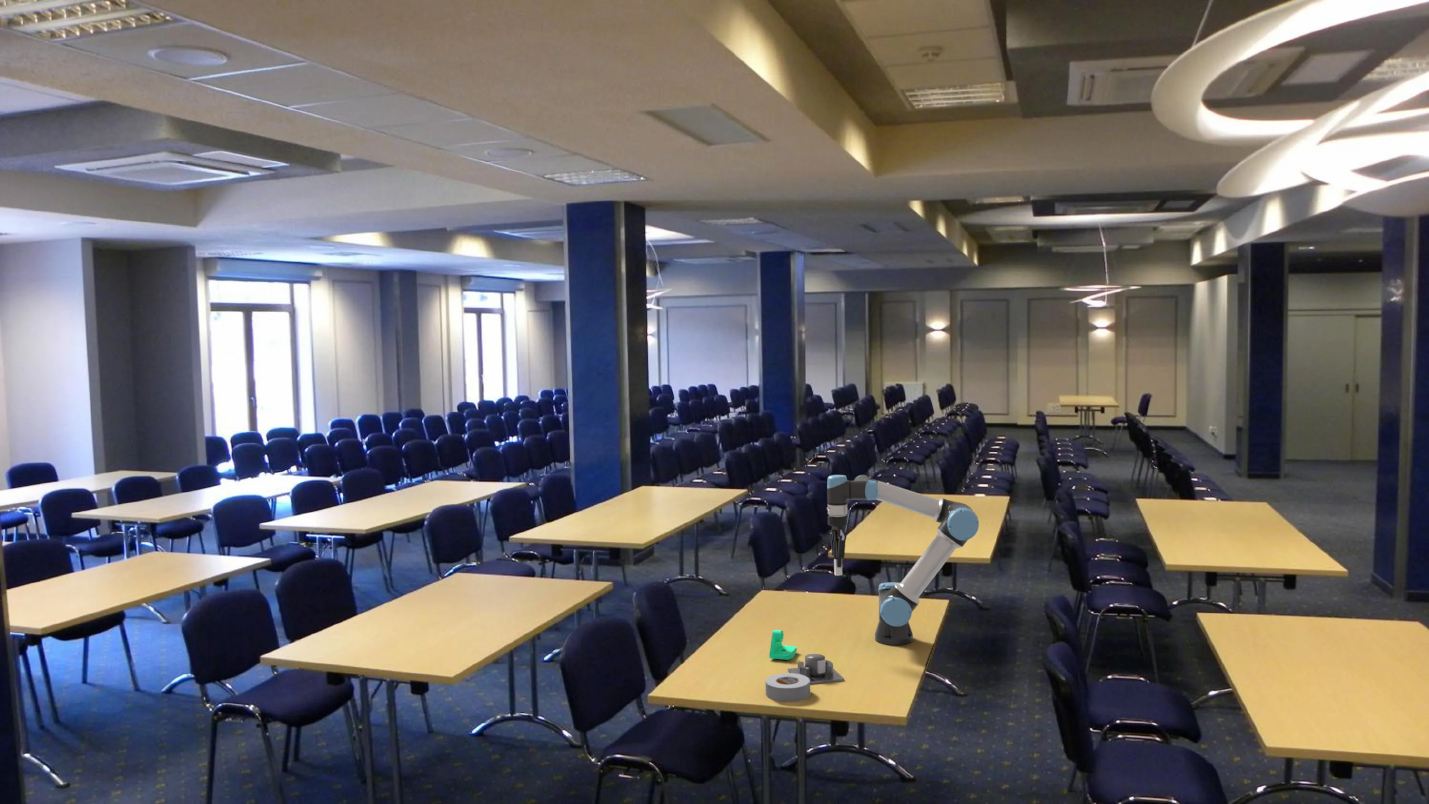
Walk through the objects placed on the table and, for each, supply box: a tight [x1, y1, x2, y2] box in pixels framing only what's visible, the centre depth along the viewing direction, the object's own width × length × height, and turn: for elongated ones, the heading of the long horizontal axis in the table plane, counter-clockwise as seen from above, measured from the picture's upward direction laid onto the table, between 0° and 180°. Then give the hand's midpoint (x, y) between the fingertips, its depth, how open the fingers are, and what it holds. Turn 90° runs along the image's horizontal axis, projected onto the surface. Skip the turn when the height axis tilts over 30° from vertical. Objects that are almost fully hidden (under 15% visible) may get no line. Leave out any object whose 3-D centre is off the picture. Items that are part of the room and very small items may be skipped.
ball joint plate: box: [787, 659, 845, 685], centre depth 361 cm, size 16×16×4 cm
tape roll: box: [764, 672, 811, 703], centre depth 344 cm, size 15×15×5 cm
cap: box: [804, 653, 827, 676], centre depth 362 cm, size 7×8×6 cm
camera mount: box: [768, 629, 798, 661], centre depth 384 cm, size 12×8×10 cm, turn 160°
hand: (838, 574), depth 390 cm, fingers closed
